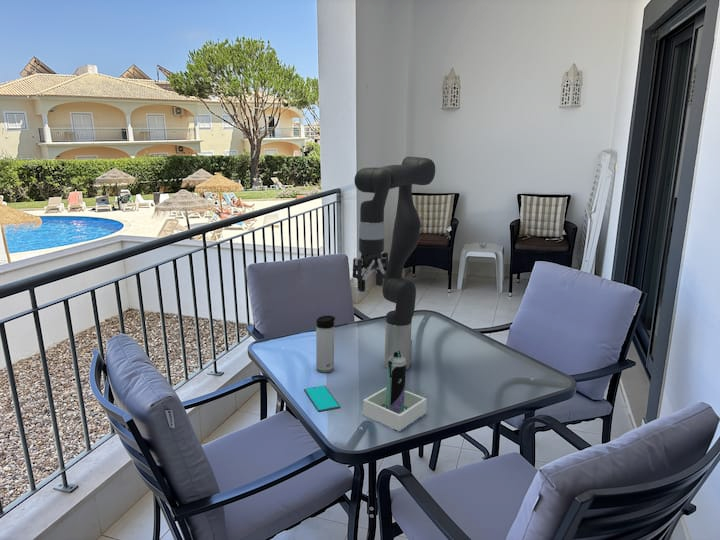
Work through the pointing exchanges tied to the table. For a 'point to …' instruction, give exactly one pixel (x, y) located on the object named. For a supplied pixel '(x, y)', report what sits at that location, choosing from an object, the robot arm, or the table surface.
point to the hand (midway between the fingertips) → (370, 288)
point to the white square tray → (388, 417)
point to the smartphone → (322, 398)
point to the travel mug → (325, 344)
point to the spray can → (396, 383)
